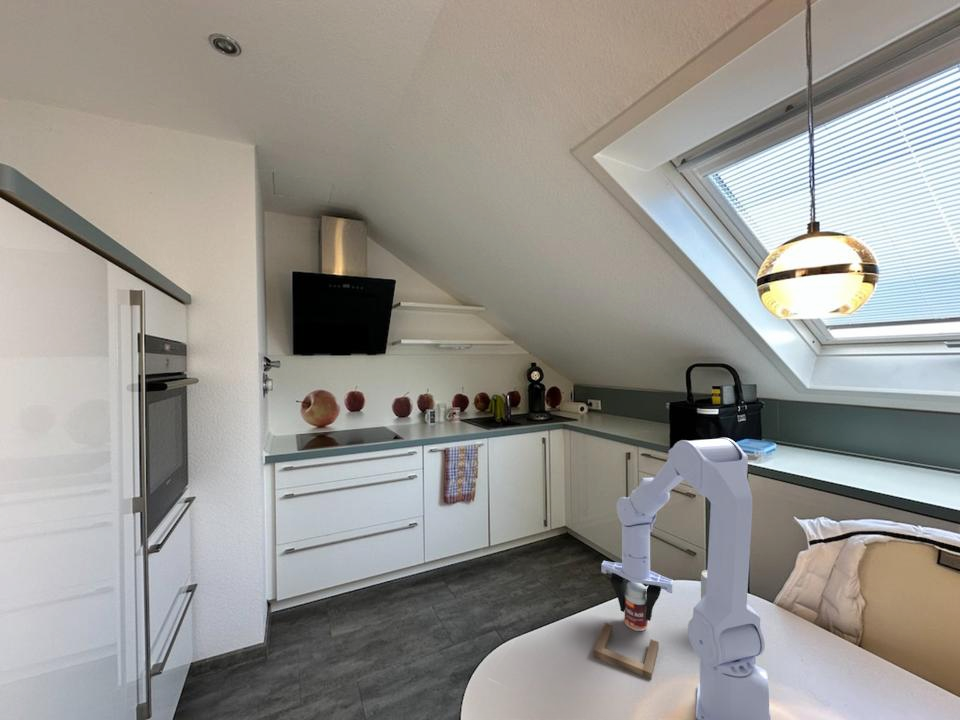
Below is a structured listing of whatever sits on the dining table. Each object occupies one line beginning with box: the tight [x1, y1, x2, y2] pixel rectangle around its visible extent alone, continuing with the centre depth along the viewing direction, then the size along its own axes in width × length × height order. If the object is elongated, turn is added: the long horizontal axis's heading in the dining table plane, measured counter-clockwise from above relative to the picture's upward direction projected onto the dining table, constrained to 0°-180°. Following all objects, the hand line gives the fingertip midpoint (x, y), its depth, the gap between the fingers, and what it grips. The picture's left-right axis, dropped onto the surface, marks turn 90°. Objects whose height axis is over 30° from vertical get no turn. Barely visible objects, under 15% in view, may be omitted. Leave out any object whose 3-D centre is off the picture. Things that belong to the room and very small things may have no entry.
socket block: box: [592, 622, 660, 680], centre depth 76 cm, size 10×9×2 cm
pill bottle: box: [624, 581, 649, 632], centre depth 84 cm, size 5×5×8 cm
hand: (636, 613), depth 84 cm, fingers closed on pill bottle, 5 cm apart
